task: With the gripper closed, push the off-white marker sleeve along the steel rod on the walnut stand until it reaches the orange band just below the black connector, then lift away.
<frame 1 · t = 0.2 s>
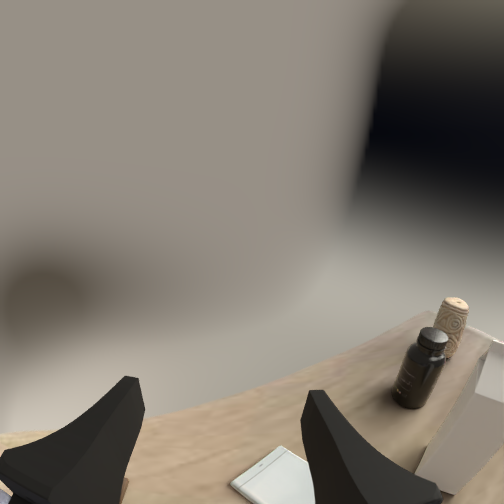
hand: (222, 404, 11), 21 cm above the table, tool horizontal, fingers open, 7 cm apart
supplement bottle: (407, 397, 38), on the table
carving: (438, 353, 49), on the table
hard drive: (297, 498, 22), on the table
milk carton: (440, 470, 22), on the table
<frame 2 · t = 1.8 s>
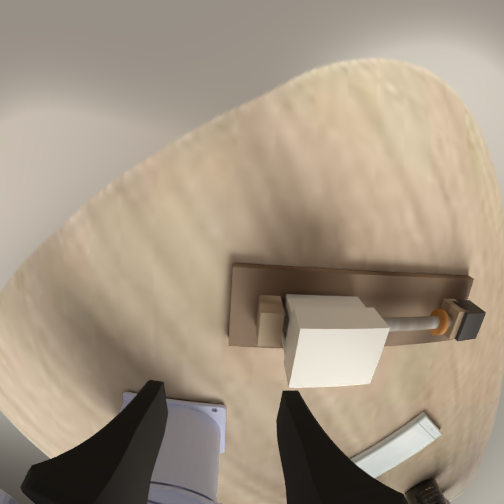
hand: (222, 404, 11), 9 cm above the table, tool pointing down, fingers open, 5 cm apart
marker sleeve: (328, 335, 17), point 4 cm above the table, slide at 0.0 cm
supplement bottle: (419, 486, 34), on the table
carving: (431, 498, 38), on the table
hard drive: (390, 445, 28), on the table
cord rail: (366, 308, 20), on the table
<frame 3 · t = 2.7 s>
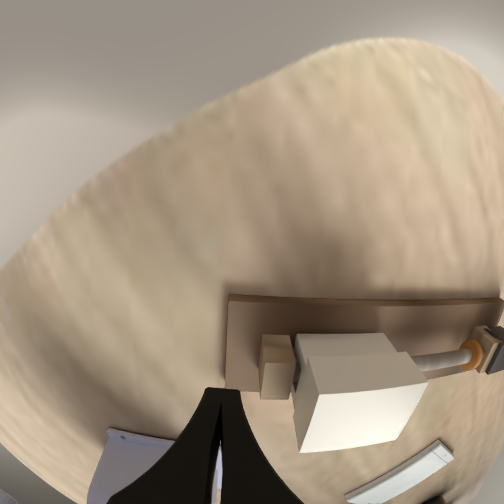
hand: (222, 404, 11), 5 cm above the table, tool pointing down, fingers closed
marker sleeve: (349, 385, 12), point 4 cm above the table, slide at 0.0 cm
supplement bottle: (426, 503, 29), on the table
hard drive: (400, 472, 23), on the table
cord rail: (390, 343, 16), on the table
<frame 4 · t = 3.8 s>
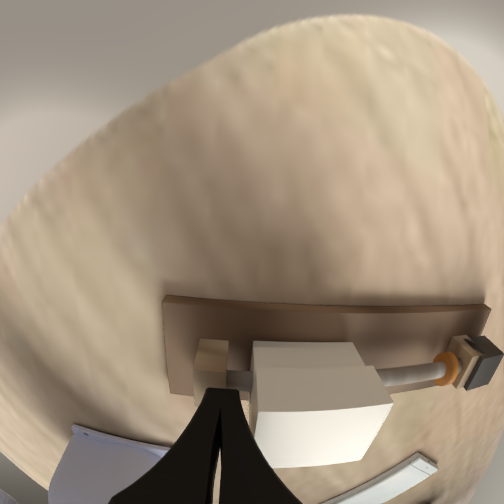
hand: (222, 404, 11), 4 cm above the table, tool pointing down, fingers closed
marker sleeve: (308, 399, 12), point 4 cm above the table, slide at 0.9 cm, touching gripper
hard drive: (380, 482, 23), on the table
cord rail: (350, 352, 15), on the table
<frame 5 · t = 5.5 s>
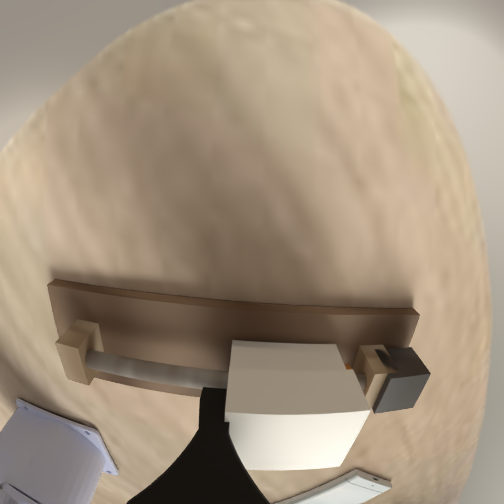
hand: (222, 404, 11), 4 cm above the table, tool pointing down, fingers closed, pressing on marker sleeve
marker sleeve: (285, 402, 11), point 4 cm above the table, slide at 6.8 cm, touching cord rail, gripper
hard drive: (324, 494, 22), on the table
cord rail: (226, 350, 15), on the table
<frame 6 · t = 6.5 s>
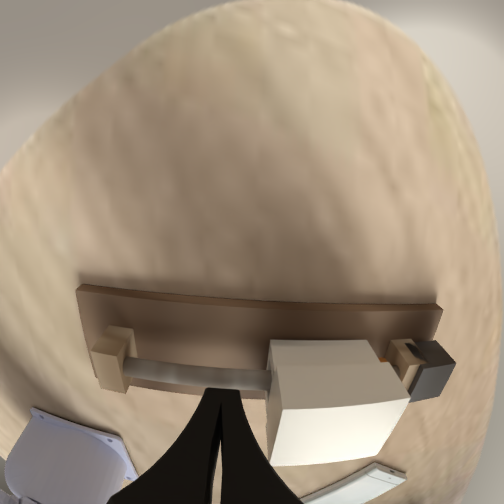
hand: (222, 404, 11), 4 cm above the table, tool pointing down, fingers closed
marker sleeve: (325, 396, 12), point 4 cm above the table, slide at 6.6 cm
hard drive: (341, 489, 22), on the table
cord rail: (264, 350, 15), on the table
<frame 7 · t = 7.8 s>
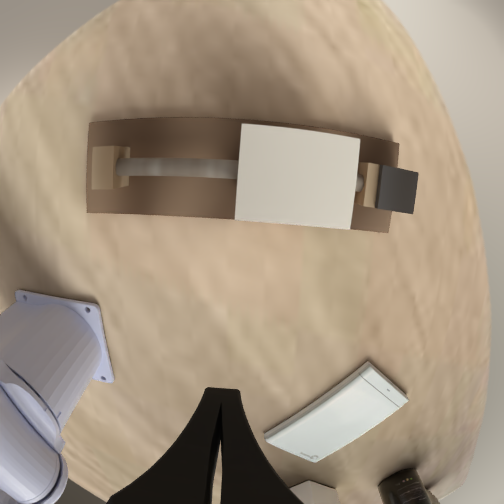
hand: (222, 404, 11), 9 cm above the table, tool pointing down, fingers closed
marker sleeve: (290, 174, 14), point 4 cm above the table, slide at 6.6 cm
supplement bottle: (396, 477, 31), on the table
carving: (416, 494, 35), on the table
hard drive: (336, 412, 25), on the table
milk carton: (302, 492, 30), on the table
cord rail: (239, 169, 17), on the table
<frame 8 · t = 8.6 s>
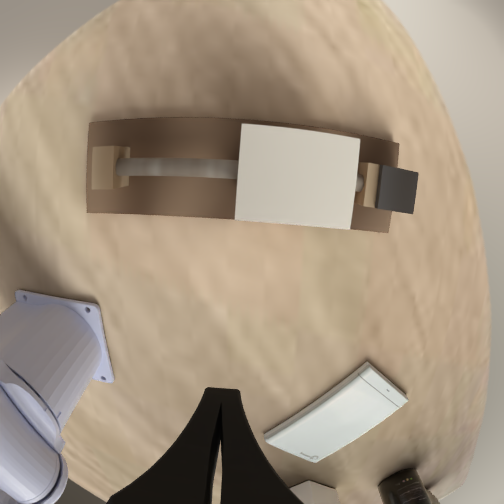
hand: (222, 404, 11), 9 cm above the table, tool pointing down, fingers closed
marker sleeve: (290, 174, 14), point 4 cm above the table, slide at 6.6 cm
supplement bottle: (396, 477, 31), on the table
carving: (416, 494, 35), on the table
hard drive: (336, 413, 25), on the table
milk carton: (302, 492, 30), on the table
cord rail: (239, 169, 17), on the table
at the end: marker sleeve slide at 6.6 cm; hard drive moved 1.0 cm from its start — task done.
